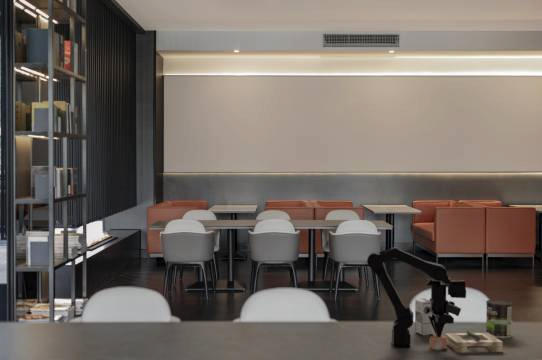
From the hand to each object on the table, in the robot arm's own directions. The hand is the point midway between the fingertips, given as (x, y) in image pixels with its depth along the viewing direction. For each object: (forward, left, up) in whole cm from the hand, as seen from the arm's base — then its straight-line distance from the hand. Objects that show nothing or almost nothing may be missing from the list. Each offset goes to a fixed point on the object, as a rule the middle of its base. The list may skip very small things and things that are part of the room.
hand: (438, 336), depth 257 cm
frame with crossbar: (+14, 0, -4) cm, 15 cm away
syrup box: (+1, +22, -5) cm, 23 cm away
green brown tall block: (+32, +18, -5) cm, 37 cm away
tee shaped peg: (0, 0, -4) cm, 4 cm away
